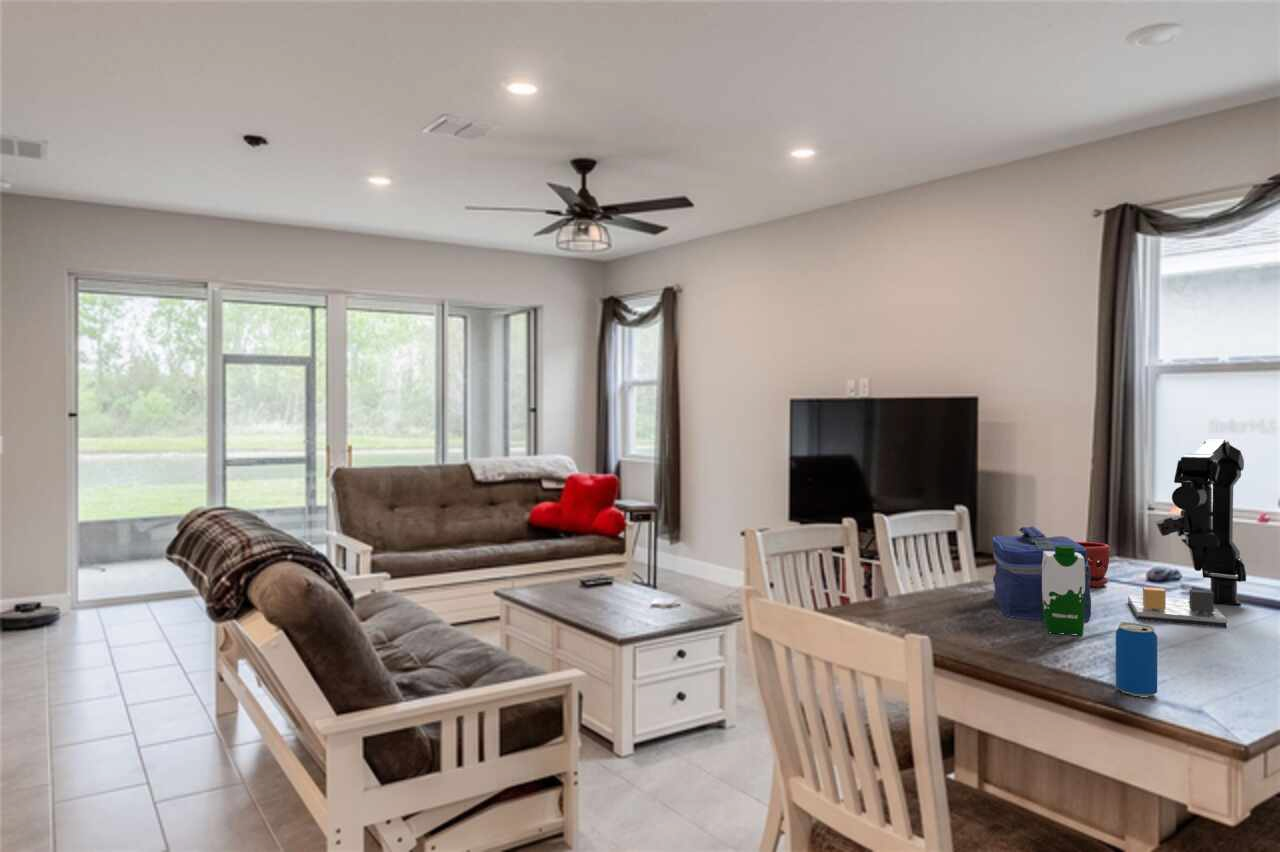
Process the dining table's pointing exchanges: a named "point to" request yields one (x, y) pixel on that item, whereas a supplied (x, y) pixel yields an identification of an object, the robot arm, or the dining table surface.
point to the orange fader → (1154, 598)
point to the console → (1176, 613)
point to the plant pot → (1097, 568)
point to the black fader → (1201, 601)
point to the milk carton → (1063, 590)
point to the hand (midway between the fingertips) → (1197, 570)
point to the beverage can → (1136, 659)
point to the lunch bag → (1028, 572)
